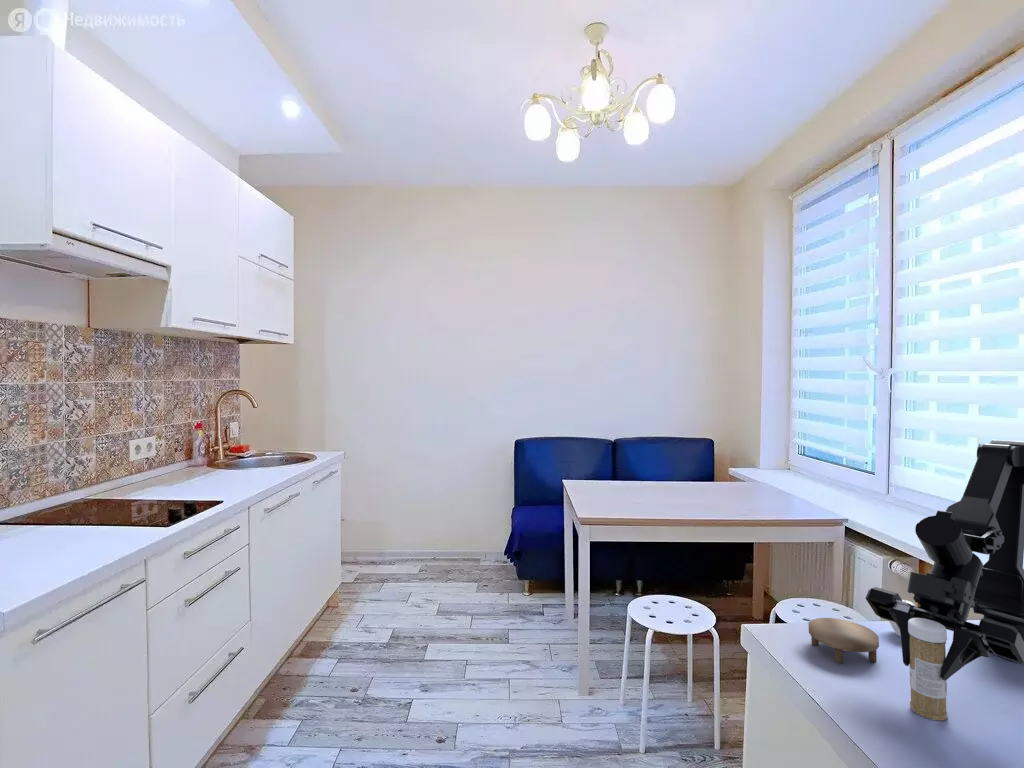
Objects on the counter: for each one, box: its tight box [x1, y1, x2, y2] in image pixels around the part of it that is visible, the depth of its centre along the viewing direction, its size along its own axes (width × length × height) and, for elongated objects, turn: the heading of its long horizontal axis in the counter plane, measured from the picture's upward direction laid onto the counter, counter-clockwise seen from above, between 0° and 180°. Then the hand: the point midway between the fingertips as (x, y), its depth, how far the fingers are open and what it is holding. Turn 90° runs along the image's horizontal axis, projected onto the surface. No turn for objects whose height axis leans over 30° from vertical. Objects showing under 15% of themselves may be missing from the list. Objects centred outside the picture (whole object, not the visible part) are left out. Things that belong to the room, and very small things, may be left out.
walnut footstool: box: [808, 617, 880, 665], centre depth 96 cm, size 11×11×4 cm
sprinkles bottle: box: [908, 618, 949, 721], centre depth 78 cm, size 5×5×14 cm
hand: (923, 671), depth 77 cm, fingers closed on sprinkles bottle, 4 cm apart
